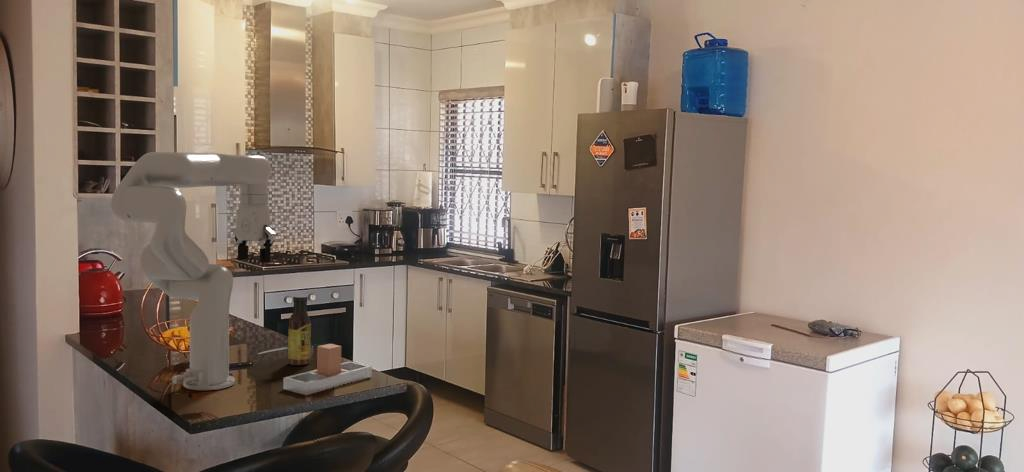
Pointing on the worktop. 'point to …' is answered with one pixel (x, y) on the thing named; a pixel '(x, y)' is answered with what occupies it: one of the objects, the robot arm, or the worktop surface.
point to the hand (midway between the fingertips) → (253, 260)
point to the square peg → (328, 359)
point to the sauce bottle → (299, 333)
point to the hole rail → (326, 378)
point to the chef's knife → (274, 350)
